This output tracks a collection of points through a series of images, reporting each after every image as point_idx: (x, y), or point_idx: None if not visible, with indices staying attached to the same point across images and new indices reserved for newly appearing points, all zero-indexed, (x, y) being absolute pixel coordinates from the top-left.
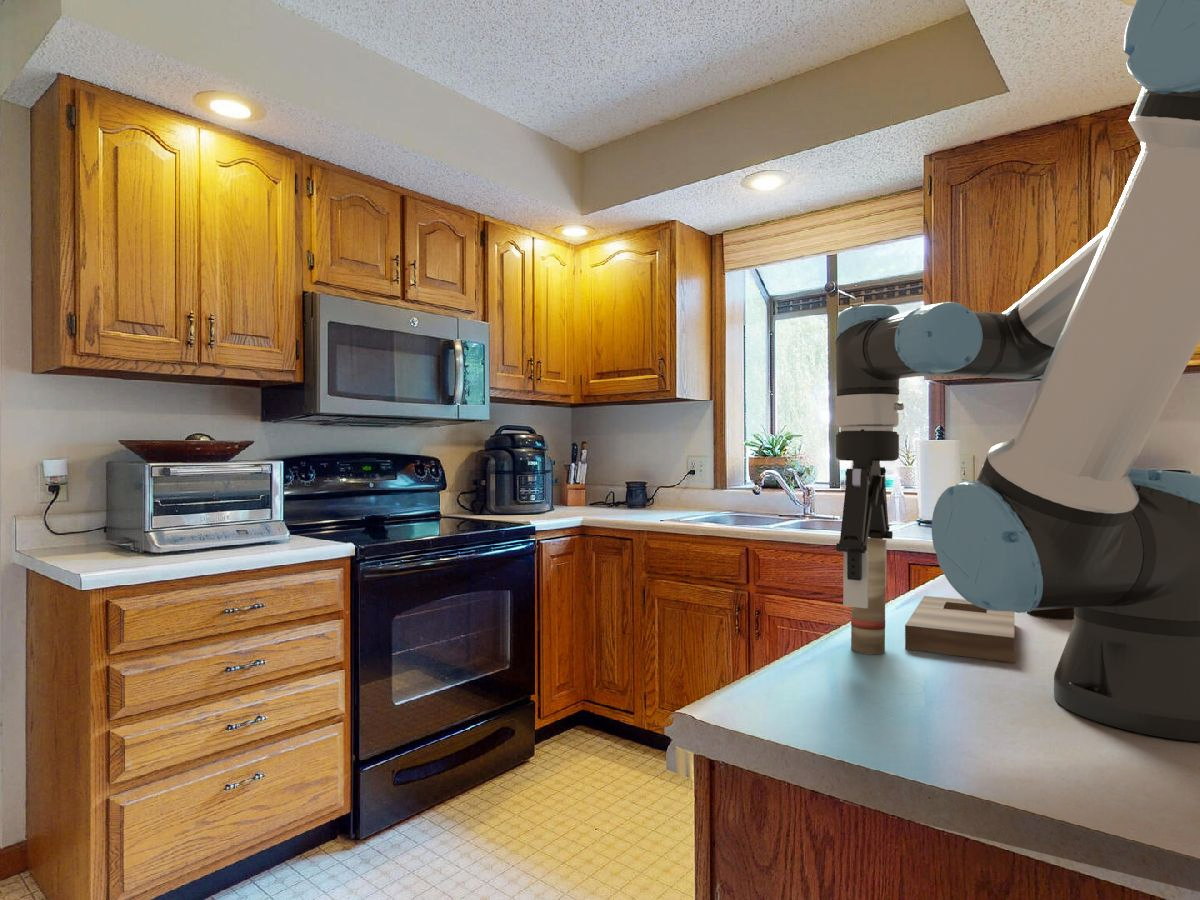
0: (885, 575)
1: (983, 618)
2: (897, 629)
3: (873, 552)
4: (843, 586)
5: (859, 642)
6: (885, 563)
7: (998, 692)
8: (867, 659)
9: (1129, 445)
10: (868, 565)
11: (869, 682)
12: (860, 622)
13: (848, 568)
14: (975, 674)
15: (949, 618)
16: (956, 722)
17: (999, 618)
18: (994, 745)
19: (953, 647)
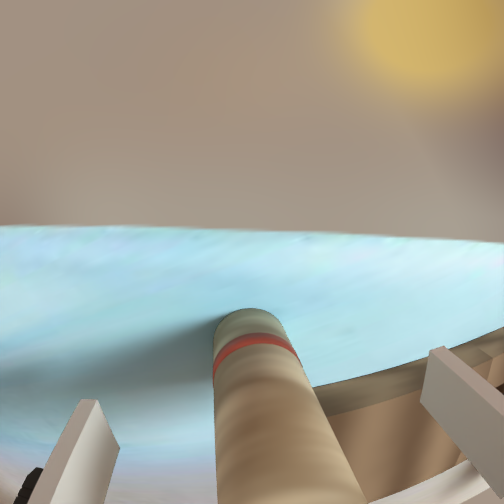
0: (440, 424)
1: (428, 459)
2: (445, 323)
3: None
4: (59, 438)
5: (214, 345)
6: (459, 447)
7: (152, 497)
8: (175, 360)
9: None
10: None
11: (55, 387)
12: (213, 375)
13: (20, 494)
14: (212, 480)
15: (414, 437)
16: (27, 461)
17: (434, 467)
18: (14, 475)
19: None
